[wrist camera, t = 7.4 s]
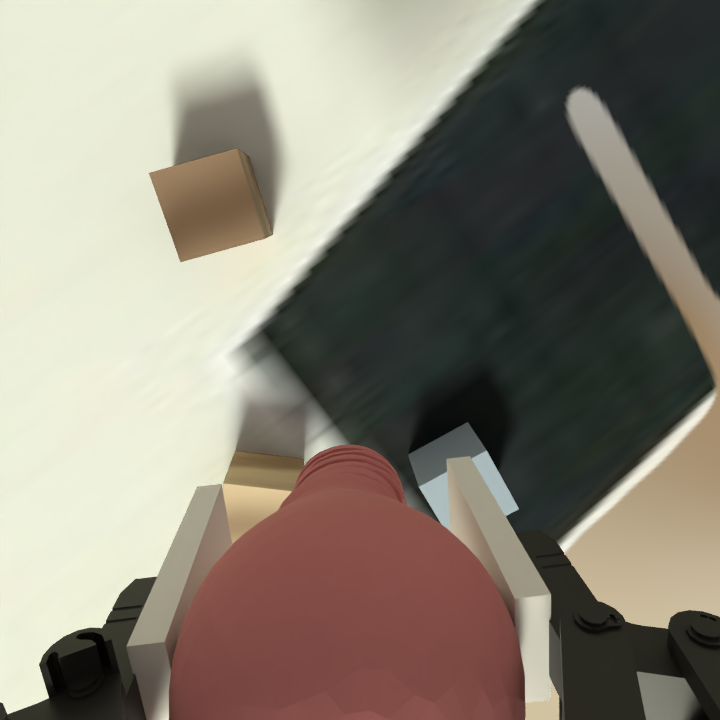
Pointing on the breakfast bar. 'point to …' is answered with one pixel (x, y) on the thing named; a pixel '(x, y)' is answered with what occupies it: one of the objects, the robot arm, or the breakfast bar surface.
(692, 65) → the breakfast bar surface
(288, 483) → the oak block
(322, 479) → the light bulb
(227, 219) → the walnut block
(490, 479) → the slate-blue painted block
